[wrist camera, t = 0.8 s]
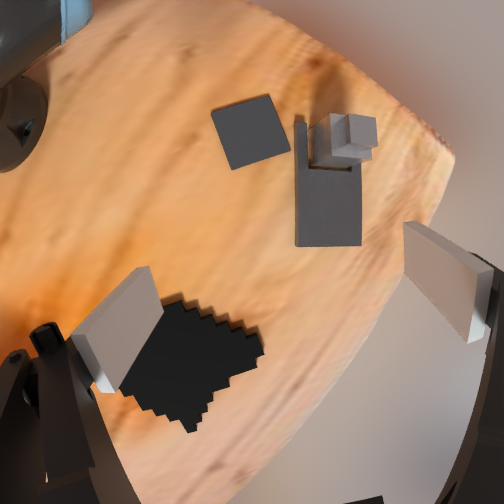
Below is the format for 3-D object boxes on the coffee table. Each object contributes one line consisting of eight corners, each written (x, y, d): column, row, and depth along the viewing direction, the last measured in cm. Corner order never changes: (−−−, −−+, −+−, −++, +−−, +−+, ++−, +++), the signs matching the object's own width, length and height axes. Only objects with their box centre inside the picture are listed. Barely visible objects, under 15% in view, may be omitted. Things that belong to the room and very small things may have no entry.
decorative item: (144, 442, 40) (81, 335, 36) (145, 436, 41) (85, 331, 38) (283, 403, 42) (237, 282, 38) (281, 398, 43) (237, 279, 40)
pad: (210, 114, 37) (210, 113, 36) (268, 97, 37) (269, 95, 37) (231, 170, 38) (232, 169, 37) (289, 151, 38) (290, 150, 38)
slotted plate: (356, 245, 41) (361, 246, 40) (295, 245, 40) (298, 247, 39) (354, 131, 39) (359, 128, 38) (293, 124, 38) (296, 122, 37)
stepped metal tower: (343, 168, 40) (385, 155, 29) (309, 166, 39) (343, 150, 28) (341, 133, 39) (381, 111, 28) (308, 130, 38) (340, 104, 28)
